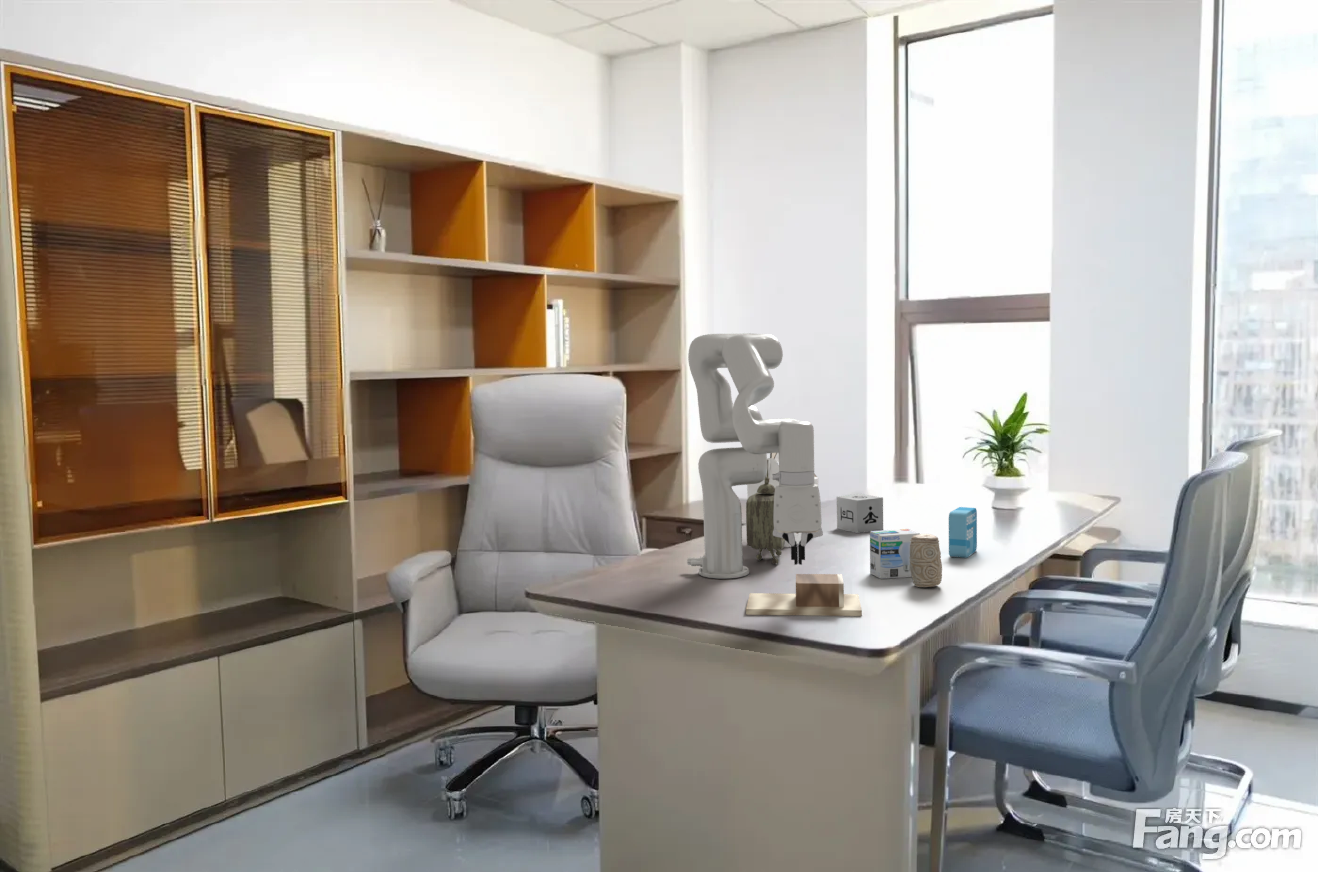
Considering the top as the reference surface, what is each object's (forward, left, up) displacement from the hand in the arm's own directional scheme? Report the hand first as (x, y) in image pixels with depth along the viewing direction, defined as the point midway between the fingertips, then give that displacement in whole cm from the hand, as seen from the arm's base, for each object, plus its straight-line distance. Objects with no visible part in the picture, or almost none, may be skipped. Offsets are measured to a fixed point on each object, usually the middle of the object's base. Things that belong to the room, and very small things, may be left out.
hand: (798, 563), depth 214 cm
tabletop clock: (-9, +49, -10) cm, 51 cm away
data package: (+43, +58, -10) cm, 73 cm away
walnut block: (-1, 0, -6) cm, 6 cm away
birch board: (+1, 0, -10) cm, 10 cm away
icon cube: (+18, +96, -10) cm, 98 cm away
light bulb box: (+23, +32, -10) cm, 41 cm away
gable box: (-5, +79, -10) cm, 80 cm away
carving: (+29, +20, -10) cm, 37 cm away
